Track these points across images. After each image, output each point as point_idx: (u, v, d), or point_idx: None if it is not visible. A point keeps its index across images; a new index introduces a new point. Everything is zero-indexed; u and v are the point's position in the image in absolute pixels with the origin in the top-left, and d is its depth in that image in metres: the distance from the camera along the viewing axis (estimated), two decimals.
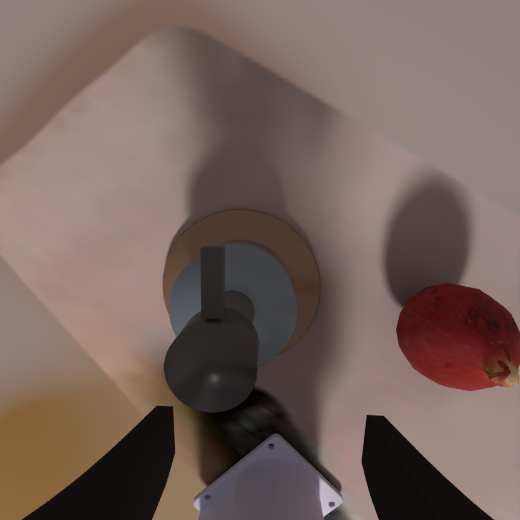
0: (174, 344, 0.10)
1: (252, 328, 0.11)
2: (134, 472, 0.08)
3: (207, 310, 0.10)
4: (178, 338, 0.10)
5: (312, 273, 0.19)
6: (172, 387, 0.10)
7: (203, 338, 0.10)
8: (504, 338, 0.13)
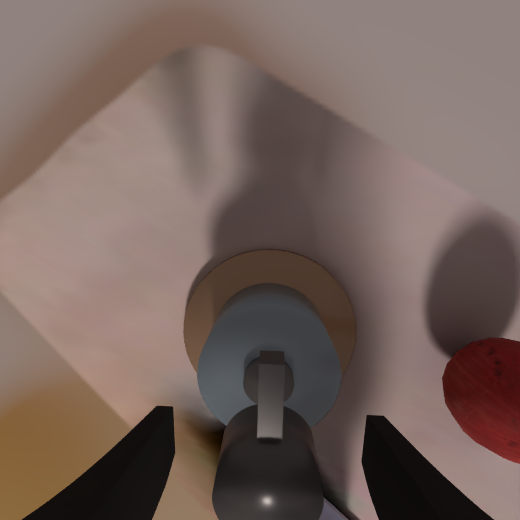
0: (225, 472, 0.08)
1: (308, 431, 0.09)
2: (134, 472, 0.08)
3: (265, 432, 0.08)
4: (230, 466, 0.08)
5: (347, 319, 0.18)
6: (221, 514, 0.08)
7: (260, 466, 0.08)
8: None
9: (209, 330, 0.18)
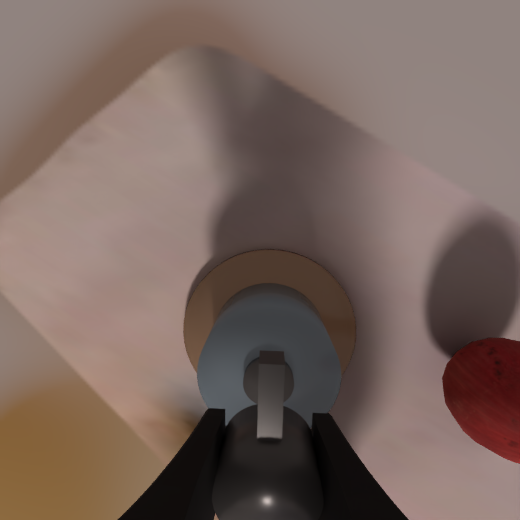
0: (225, 472, 0.08)
1: (308, 431, 0.09)
2: (204, 476, 0.08)
3: (265, 432, 0.08)
4: (230, 466, 0.08)
5: (347, 319, 0.18)
6: (221, 514, 0.08)
7: (260, 466, 0.08)
8: None
9: (209, 330, 0.18)
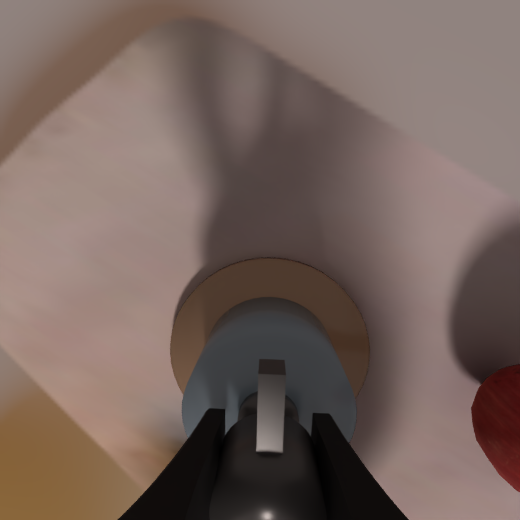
0: (223, 487, 0.08)
1: (310, 442, 0.09)
2: (204, 476, 0.08)
3: (264, 445, 0.08)
4: (228, 481, 0.08)
5: (360, 338, 0.15)
6: None
7: (259, 481, 0.07)
8: None
9: (200, 350, 0.16)
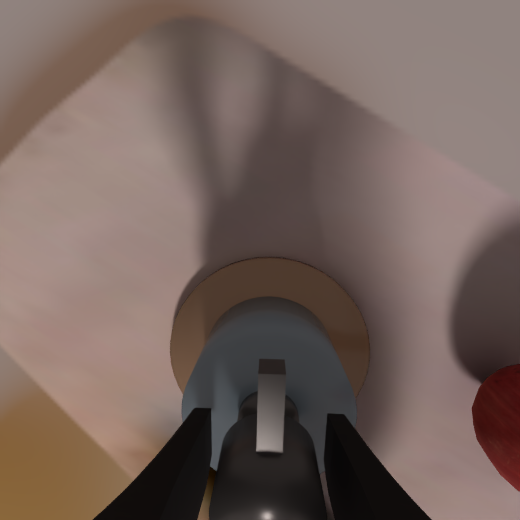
0: (222, 487, 0.08)
1: (310, 442, 0.09)
2: (185, 475, 0.08)
3: (264, 445, 0.08)
4: (228, 481, 0.07)
5: (360, 338, 0.15)
6: None
7: (259, 481, 0.07)
8: None
9: (200, 350, 0.16)
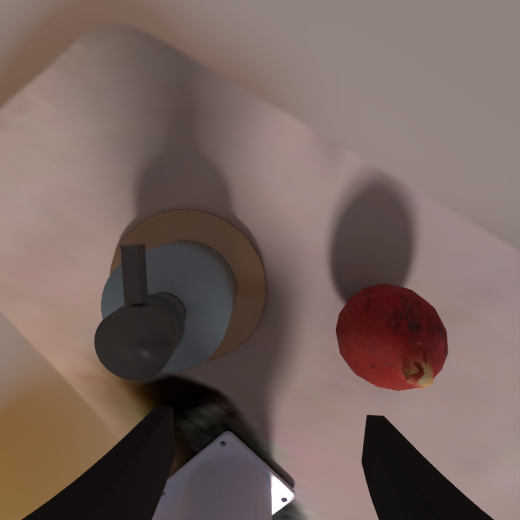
0: (102, 324, 0.12)
1: (175, 312, 0.13)
2: (134, 472, 0.08)
3: (128, 296, 0.12)
4: (104, 319, 0.12)
5: (257, 273, 0.19)
6: (103, 360, 0.12)
7: (124, 319, 0.12)
8: (424, 340, 0.13)
9: None
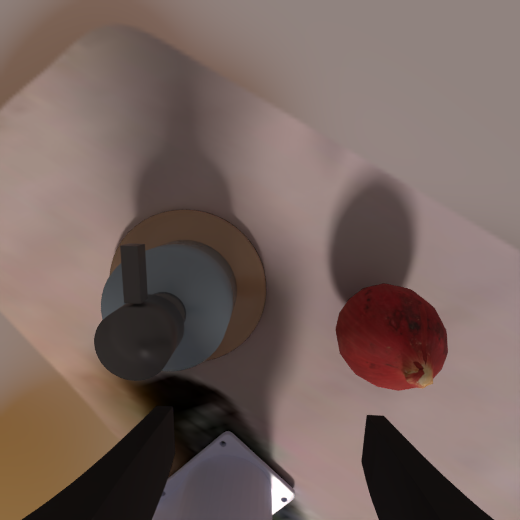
0: (101, 324, 0.12)
1: (175, 312, 0.13)
2: (133, 472, 0.08)
3: (128, 296, 0.12)
4: (104, 319, 0.12)
5: (257, 273, 0.19)
6: (103, 360, 0.12)
7: (124, 319, 0.12)
8: (424, 339, 0.13)
9: None
